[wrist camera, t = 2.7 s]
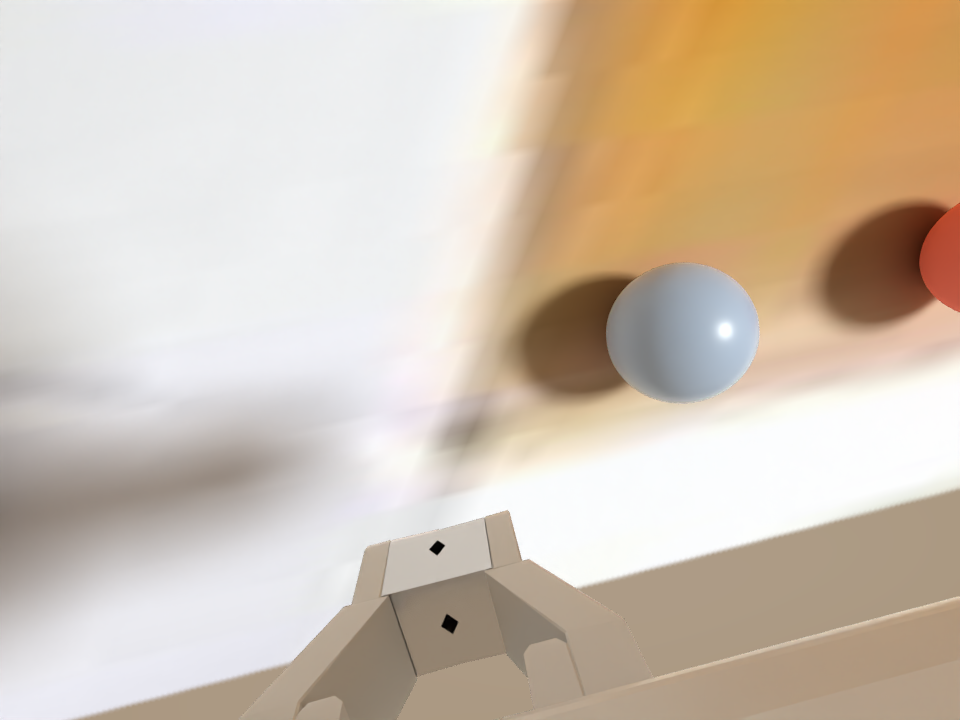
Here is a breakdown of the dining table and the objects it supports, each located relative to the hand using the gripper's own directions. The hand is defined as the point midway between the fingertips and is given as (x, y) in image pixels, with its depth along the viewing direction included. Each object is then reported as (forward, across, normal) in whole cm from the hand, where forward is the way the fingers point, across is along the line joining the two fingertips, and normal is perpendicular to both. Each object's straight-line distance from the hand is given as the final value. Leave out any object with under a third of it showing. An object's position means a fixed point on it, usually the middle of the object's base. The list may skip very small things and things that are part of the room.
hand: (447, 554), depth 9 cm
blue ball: (+9, -10, -1) cm, 13 cm away
